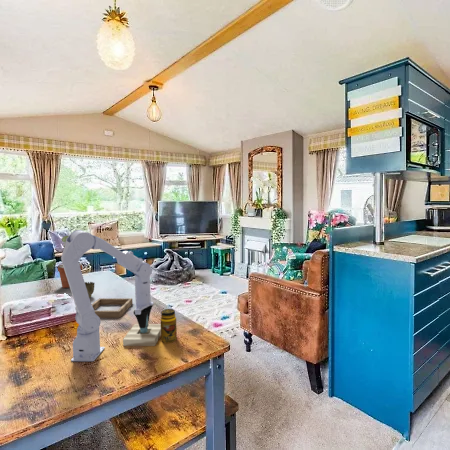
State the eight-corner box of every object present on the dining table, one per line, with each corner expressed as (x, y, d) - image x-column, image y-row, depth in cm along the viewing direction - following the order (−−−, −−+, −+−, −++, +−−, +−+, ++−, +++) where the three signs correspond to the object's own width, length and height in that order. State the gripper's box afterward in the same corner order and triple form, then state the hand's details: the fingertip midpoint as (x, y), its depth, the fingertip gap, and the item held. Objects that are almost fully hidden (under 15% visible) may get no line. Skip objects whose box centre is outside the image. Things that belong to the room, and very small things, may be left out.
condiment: (170, 346, 116) (169, 315, 115) (152, 341, 120) (151, 311, 119) (181, 338, 122) (181, 309, 121) (165, 334, 127) (164, 305, 125)
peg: (146, 333, 121) (145, 313, 120) (138, 333, 121) (137, 313, 120) (149, 329, 124) (149, 310, 123) (141, 329, 124) (140, 310, 124)
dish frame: (119, 317, 143) (119, 311, 143) (82, 317, 143) (82, 311, 143) (132, 304, 161) (132, 298, 161) (99, 304, 162) (99, 298, 161)
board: (154, 345, 116) (154, 339, 115) (123, 345, 116) (122, 339, 116) (163, 329, 129) (163, 324, 129) (135, 329, 130) (134, 324, 130)
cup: (89, 299, 168) (89, 285, 168) (77, 299, 170) (77, 284, 169) (97, 295, 176) (97, 281, 175) (86, 294, 177) (85, 281, 176)
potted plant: (84, 287, 192) (82, 231, 189) (57, 290, 186) (53, 232, 183) (86, 281, 206) (83, 229, 203) (60, 283, 201) (57, 230, 197)
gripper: (147, 298, 114) (149, 333, 115) (157, 286, 128) (158, 318, 129) (128, 298, 114) (130, 333, 115) (140, 286, 128) (141, 318, 130)
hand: (144, 325), depth 122 cm, fingers closed on peg, 3 cm apart
